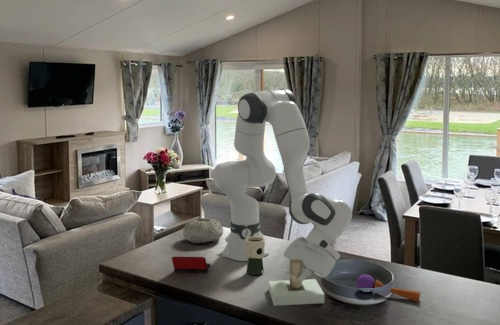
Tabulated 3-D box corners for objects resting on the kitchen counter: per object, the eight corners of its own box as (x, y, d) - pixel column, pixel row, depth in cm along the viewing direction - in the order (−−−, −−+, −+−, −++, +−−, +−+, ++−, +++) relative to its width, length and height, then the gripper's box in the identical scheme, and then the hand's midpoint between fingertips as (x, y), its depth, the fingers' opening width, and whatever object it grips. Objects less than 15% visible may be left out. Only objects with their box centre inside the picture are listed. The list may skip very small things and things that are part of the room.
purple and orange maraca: (418, 294, 146) (354, 278, 155) (416, 310, 148) (353, 293, 157) (421, 284, 151) (359, 269, 160) (419, 299, 153) (358, 284, 162)
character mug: (256, 280, 167) (255, 244, 165) (239, 276, 171) (238, 241, 169) (270, 270, 176) (270, 236, 174) (254, 266, 180) (254, 233, 178)
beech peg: (288, 293, 156) (288, 258, 154) (300, 293, 156) (300, 258, 154) (290, 299, 152) (290, 263, 150) (302, 298, 152) (303, 262, 150)
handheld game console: (210, 266, 182) (210, 247, 181) (205, 276, 171) (205, 257, 170) (178, 265, 183) (177, 246, 182) (171, 276, 172) (171, 256, 171)
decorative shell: (208, 232, 224) (208, 212, 222) (231, 241, 210) (231, 219, 209) (175, 240, 212) (175, 218, 211) (198, 250, 199) (197, 227, 197)
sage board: (268, 289, 159) (268, 281, 159) (315, 287, 161) (315, 279, 160) (273, 305, 147) (273, 296, 147) (324, 303, 149) (324, 294, 148)
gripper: (294, 230, 163) (270, 262, 160) (333, 246, 146) (307, 283, 143) (304, 240, 166) (281, 272, 163) (344, 258, 149) (319, 294, 146)
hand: (294, 277), depth 153 cm, fingers closed on beech peg, 4 cm apart
